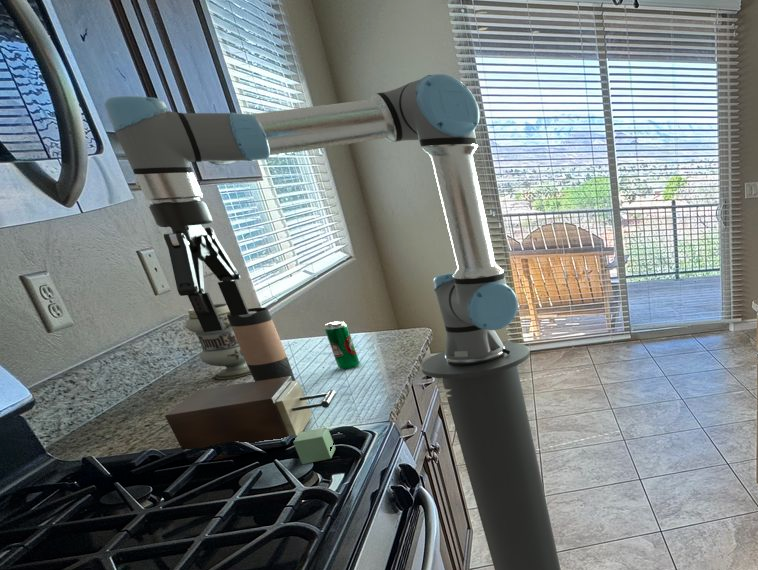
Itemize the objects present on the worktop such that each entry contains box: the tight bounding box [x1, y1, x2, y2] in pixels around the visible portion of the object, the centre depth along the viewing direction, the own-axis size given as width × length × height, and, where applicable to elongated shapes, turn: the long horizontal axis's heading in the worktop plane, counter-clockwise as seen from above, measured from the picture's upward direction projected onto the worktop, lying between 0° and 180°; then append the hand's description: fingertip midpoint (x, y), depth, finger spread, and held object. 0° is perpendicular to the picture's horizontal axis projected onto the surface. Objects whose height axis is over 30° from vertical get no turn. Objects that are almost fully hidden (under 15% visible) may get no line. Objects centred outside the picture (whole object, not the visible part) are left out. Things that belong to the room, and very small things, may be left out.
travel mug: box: [227, 307, 297, 382], centre depth 130 cm, size 8×8×20 cm
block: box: [293, 426, 336, 465], centre depth 102 cm, size 4×4×4 cm
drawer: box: [275, 380, 337, 436], centre depth 110 cm, size 21×13×8 cm, turn 113°
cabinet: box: [164, 376, 292, 461], centre depth 109 cm, size 16×14×10 cm
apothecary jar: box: [185, 303, 252, 380], centre depth 148 cm, size 12×12×18 cm
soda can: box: [324, 320, 361, 370], centre depth 149 cm, size 5×5×12 cm
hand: (228, 322), depth 106 cm, fingers open, 13 cm apart
